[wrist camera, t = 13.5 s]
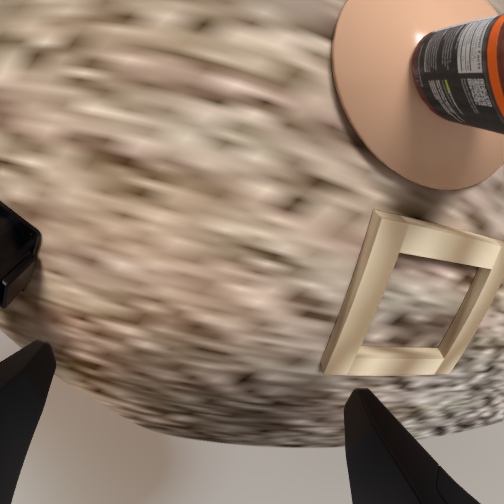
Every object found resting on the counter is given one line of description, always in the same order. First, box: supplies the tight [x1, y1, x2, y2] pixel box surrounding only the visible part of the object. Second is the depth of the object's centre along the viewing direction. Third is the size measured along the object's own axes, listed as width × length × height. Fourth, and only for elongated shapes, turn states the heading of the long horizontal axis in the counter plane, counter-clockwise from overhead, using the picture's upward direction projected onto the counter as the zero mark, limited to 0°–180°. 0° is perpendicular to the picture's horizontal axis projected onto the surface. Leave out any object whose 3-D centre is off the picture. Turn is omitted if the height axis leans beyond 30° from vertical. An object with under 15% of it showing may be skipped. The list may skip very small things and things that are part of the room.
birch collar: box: [321, 210, 504, 376], centre depth 22 cm, size 13×13×2 cm
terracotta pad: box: [331, 0, 504, 190], centre depth 15 cm, size 15×15×1 cm
